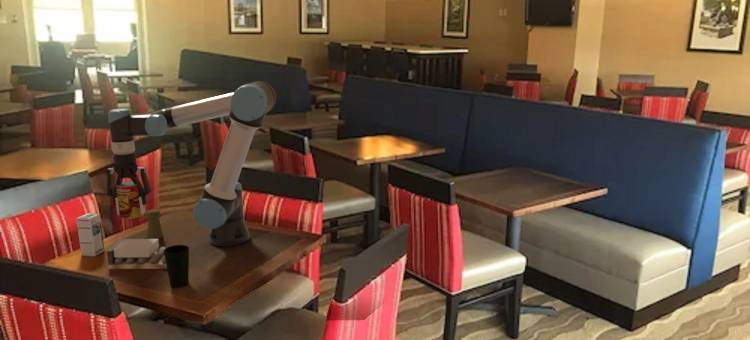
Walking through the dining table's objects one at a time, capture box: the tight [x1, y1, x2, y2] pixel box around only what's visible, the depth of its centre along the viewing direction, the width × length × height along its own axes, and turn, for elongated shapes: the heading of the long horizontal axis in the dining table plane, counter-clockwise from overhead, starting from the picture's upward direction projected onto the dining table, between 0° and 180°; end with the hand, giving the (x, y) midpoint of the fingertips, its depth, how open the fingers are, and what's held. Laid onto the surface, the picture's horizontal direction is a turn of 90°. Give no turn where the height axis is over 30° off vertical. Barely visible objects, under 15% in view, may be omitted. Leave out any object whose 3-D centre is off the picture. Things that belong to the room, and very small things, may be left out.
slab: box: [113, 238, 160, 258], centre depth 215 cm, size 12×10×3 cm
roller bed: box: [106, 238, 167, 270], centre depth 215 cm, size 22×12×6 cm, turn 91°
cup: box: [164, 244, 190, 289], centre depth 196 cm, size 8×8×12 cm
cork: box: [145, 209, 164, 240], centre depth 240 cm, size 6×6×11 cm
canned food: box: [116, 180, 144, 220], centre depth 223 cm, size 8×8×12 cm
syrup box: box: [75, 212, 105, 257], centre depth 223 cm, size 6×6×14 cm
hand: (131, 213), depth 224 cm, fingers closed on canned food, 8 cm apart
